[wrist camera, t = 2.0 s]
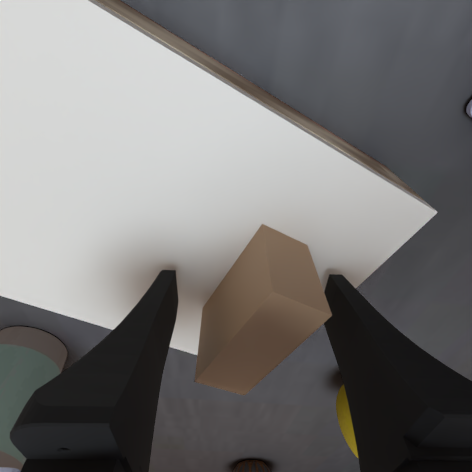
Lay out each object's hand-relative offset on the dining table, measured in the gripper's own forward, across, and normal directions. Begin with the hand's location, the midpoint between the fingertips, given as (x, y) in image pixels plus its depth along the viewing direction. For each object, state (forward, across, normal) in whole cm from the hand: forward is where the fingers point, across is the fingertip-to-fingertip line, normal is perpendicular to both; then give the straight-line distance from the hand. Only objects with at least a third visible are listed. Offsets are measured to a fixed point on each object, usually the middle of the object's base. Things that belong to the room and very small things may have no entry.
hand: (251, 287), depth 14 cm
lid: (+1, +4, -2) cm, 4 cm away
